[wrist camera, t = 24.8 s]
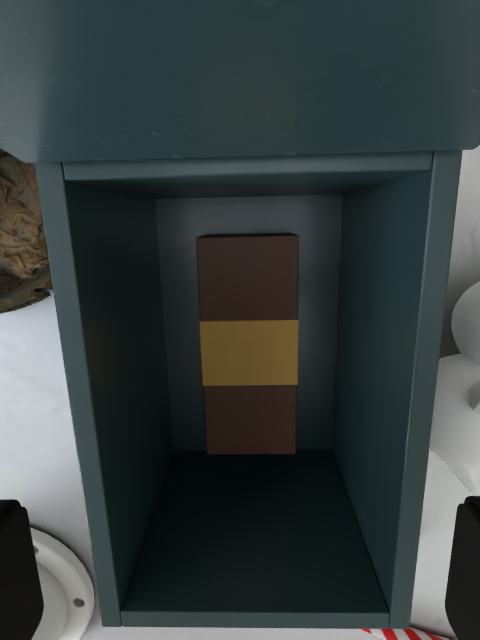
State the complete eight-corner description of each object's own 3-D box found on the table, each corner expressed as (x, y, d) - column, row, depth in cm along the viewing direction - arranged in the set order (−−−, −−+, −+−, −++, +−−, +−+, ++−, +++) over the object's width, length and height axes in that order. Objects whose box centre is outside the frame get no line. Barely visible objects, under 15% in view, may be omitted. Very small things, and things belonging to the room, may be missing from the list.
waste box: (341, 453, 27) (409, 630, 15) (164, 453, 27) (101, 627, 15) (354, 180, 22) (465, 138, 11) (143, 185, 22) (32, 151, 11)
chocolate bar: (212, 423, 25) (205, 455, 22) (203, 234, 22) (194, 237, 19) (290, 422, 25) (297, 455, 22) (292, 232, 22) (300, 234, 19)
